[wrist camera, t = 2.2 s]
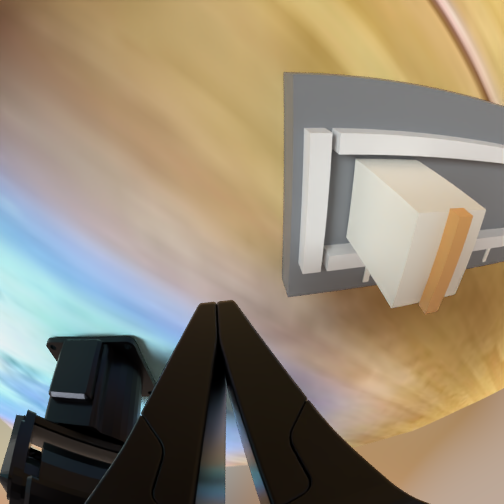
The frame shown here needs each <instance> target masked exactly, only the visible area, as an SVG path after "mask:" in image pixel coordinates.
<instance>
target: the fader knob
mask: <svg viewBox="0 0 504 504" xmlns="http://www.w3.org/2000/svg"><path fill="white" fill-rule="evenodd" d="M485 212H486V209H485V208H483V207H482V206H481V205H480V204H478V203H477V202H476V201H474V200H473V199H472V198H471V197H469V196H468V195H467V194H465V193H464V192H463V191H461V190H460V189H459V188H457V187H456V186H454V185H453V184H452V183H450V182H449V181H447V180H446V179H445V178H443V177H442V176H440V175H439V174H437V173H436V172H434V171H433V170H432V169H430V168H429V167H427V166H426V165H424V164H422V163H421V162H419V161H418V160H407V159H355V170H354V180H353V189H352V197H351V206H350V214H349V221H348V228H347V235H346V238H347V239H348V241H349V242H350V244H351V245H352V247H353V248H354V250H355V251H356V253H357V254H358V256H359V257H360V259H361V260H362V262H363V263H364V265H365V267H366V268H367V270H368V271H369V273H370V274H371V276H372V278H373V279H374V281H375V282H376V284H377V286H378V287H379V289H380V291H381V292H382V294H383V295H384V297H385V299H386V300H387V302H388V304H389V305H390V307H391V308H396V307H401V306H405V305H410V304H415V303H419V304H418V305H419V306H420V308H421V309H422V311H423V312H424V314H428V313H432V312H436V311H438V309H439V307H440V305H441V302H442V300H443V298H444V297H446V296H450V295H455V293H456V291H457V289H458V286H459V284H460V282H461V279H462V277H463V274H464V272H465V269H466V267H467V264H468V262H469V259H470V256H471V254H472V251H473V248H474V246H475V243H476V240H477V237H478V234H479V231H480V228H481V225H482V222H483V219H484V215H485Z"/></svg>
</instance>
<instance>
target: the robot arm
mask: <svg viewBox="0 0 504 504" xmlns="http://www.w3.org/2000/svg"><path fill="white" fill-rule="evenodd" d="M46 346H47V348H48V349H49V351H50V352H51V353H52V355H53V356H54V358H55V359H56V361H57V365H56V368H55V371H54V375H53V378H52V382H51V385H50V389H49V395H50V398H49V402H48V406H47V410H46V414H45V418H42V417H40V416H38V415H36V413H34V412H32V411H30V410H28V411H27V415H26V416H25V415H24V416H20V415H16V419H15V423H14V427H13V431H12V435H11V438H10V442H9V446H8V448H7V452H6V455H5V458H4V462H3V465H2V469H1V473H0V483H1V484H2V486H3V488H4V489H5V491H6V492H7V499H8V500H10V501H9V504H225V448H226V383H227V388H228V392H229V396H230V400H231V404H232V408H233V412H234V415H235V419H236V423H237V426H238V430H239V434H240V437H241V441H242V444H243V448H244V451H245V455H246V458H247V461H248V465H249V468H250V471H251V475H252V478H253V481H254V485H255V488H256V491H257V494H258V497H259V501H260V504H429V503H426V502H424V501H421V500H419V499H416V498H414V497H412V496H410V495H409V494H407V493H406V492H404V491H402V490H401V489H399V488H398V487H397V486H395V485H394V484H393V483H391V482H390V481H389V480H388V479H387V478H386V477H384V476H383V475H382V474H381V473H380V472H379V471H377V470H376V469H375V468H374V467H373V466H372V465H371V464H369V463H368V462H367V461H366V460H365V459H364V458H363V457H362V456H360V455H359V454H358V453H357V452H356V451H355V450H354V449H353V448H352V447H351V446H350V445H349V444H348V443H347V442H345V441H344V440H343V439H342V438H341V437H340V436H339V435H338V434H337V433H336V432H335V431H334V430H333V428H332V427H331V426H330V425H329V424H328V423H327V421H326V420H325V419H324V418H323V417H322V416H321V414H320V413H319V412H318V411H317V410H316V408H315V407H314V406H313V404H312V403H311V402H310V401H309V400H307V397H306V396H305V395H304V393H303V392H302V391H301V389H300V388H299V387H298V386H297V384H296V383H295V382H294V380H293V379H292V378H291V376H290V375H289V374H288V373H287V371H286V370H285V369H284V367H283V366H282V365H281V363H280V362H279V361H278V359H277V358H276V357H275V355H274V354H273V353H272V351H271V350H270V349H269V347H268V346H267V345H266V343H265V342H264V341H263V339H262V338H261V337H260V335H259V334H258V333H257V331H256V330H255V329H254V327H253V326H252V325H251V323H250V322H249V320H248V319H247V318H246V316H245V315H244V314H243V312H242V311H241V309H240V308H239V307H238V305H237V304H236V303H235V302H234V301H233V300H228V301H219V302H218V303H217V304H216V303H215V302H208V303H201V304H199V305H198V307H197V309H196V311H195V312H194V314H193V316H192V318H191V320H190V322H189V324H188V325H187V327H186V329H185V331H184V333H183V335H182V336H181V338H180V340H179V342H178V344H177V346H176V348H175V350H174V351H173V353H172V355H171V357H170V359H169V361H168V363H167V364H166V366H165V368H164V370H163V372H162V374H161V376H160V378H159V380H158V381H157V383H155V381H154V379H153V377H152V375H151V373H150V371H149V369H148V367H147V365H146V363H145V361H144V359H143V356H142V354H141V352H140V350H139V348H138V346H137V343H136V341H135V340H134V339H133V338H131V337H127V336H123V337H90V338H49V339H48V341H47V345H46ZM142 396H150V397H149V399H148V401H147V402H146V404H145V406H144V408H143V410H142V412H141V414H142V416H140V411H141V399H142ZM31 444H34V445H36V446H39V447H41V448H42V452H40V451H38V450H35V449H33V448H31Z"/></svg>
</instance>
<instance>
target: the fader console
mask: <svg viewBox="0 0 504 504" xmlns="http://www.w3.org/2000/svg"><path fill="white" fill-rule="evenodd" d="M355 159H407V160H418V161H419V162H421V163H422V164H424V165H426V166H427V167H429V168H430V169H432V170H433V171H434V172H436V173H437V174H439V175H440V176H442V177H443V178H445V179H446V180H447V181H449V182H450V183H452V184H453V185H454V186H456V187H457V188H459V189H460V190H461V191H463V192H464V193H465V194H467V195H468V196H469V197H471V198H472V199H473V200H474V201H476V202H477V203H478V204H480V205H481V206H482V207H483V208H485V209H486V212H485V215H484V219H483V222H482V225H481V228H480V231H479V234H478V237H477V240H476V243H475V246H474V248H473V251H472V254H471V256H470V259H469V262H468V264H467V267H466V269H469V268H474V267H479V266H484V265H489V264H493V263H498V262H503V261H504V106H502V105H499V104H495V103H492V102H489V101H485V100H482V99H478V98H475V97H471V96H467V95H463V94H459V93H455V92H451V91H447V90H442V89H438V88H433V87H428V86H423V85H417V84H412V83H406V82H400V81H393V80H386V79H378V78H370V77H361V76H351V75H338V74H323V73H294V72H284V211H283V256H282V280H283V283H284V286H285V289H286V293H287V296H288V297H293V296H301V295H309V294H316V293H324V292H331V291H338V290H345V289H352V288H359V287H365V286H372V285H377V284H376V282H375V281H374V279H373V278H372V276H371V274H370V273H369V271H368V270H367V268H366V267H365V265H364V263H363V262H362V260H361V259H360V257H359V256H358V254H357V253H356V251H355V250H354V248H353V247H352V245H351V244H350V242H349V241H348V239H347V238H346V235H347V228H348V221H349V214H350V206H351V197H352V189H353V180H354V170H355Z"/></svg>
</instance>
